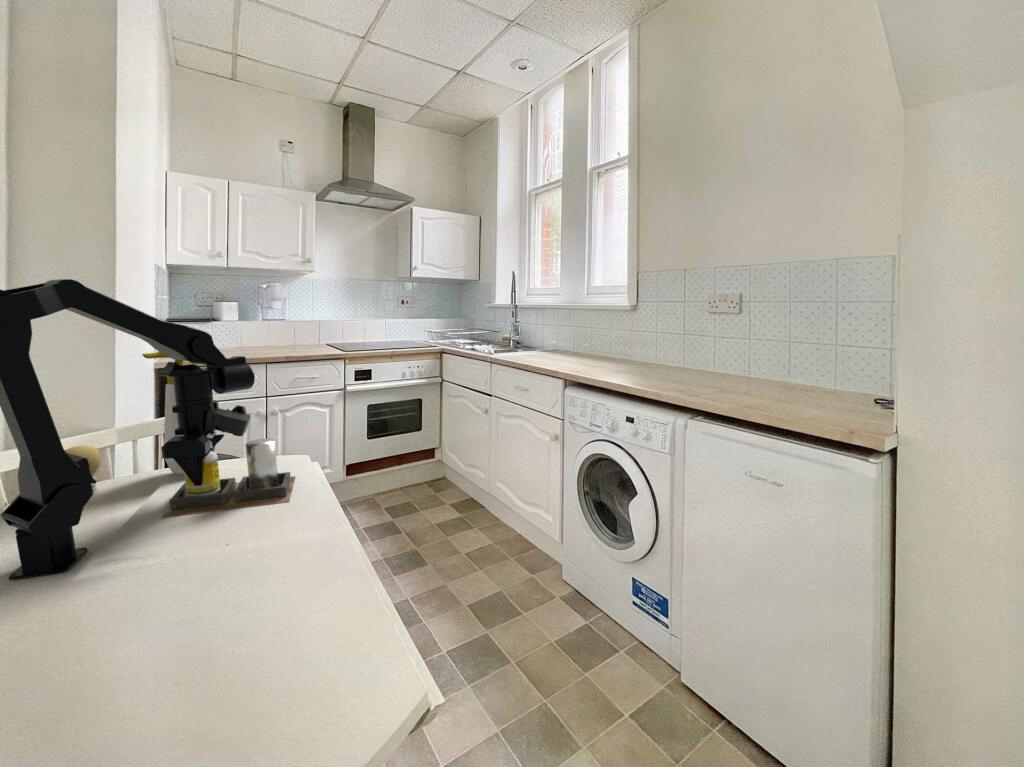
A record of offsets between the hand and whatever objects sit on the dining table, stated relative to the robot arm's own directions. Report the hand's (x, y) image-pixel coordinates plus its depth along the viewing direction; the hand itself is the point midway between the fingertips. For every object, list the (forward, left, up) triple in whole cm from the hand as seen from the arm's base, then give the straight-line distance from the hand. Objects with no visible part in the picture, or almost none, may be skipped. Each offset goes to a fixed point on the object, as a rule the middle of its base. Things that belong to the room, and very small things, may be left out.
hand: (202, 479), depth 88 cm
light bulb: (+14, +24, -5) cm, 28 cm away
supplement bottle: (0, 0, -3) cm, 3 cm away
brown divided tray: (0, -5, -5) cm, 7 cm away
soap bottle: (+19, +8, -5) cm, 21 cm away
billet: (0, -10, -4) cm, 11 cm away
